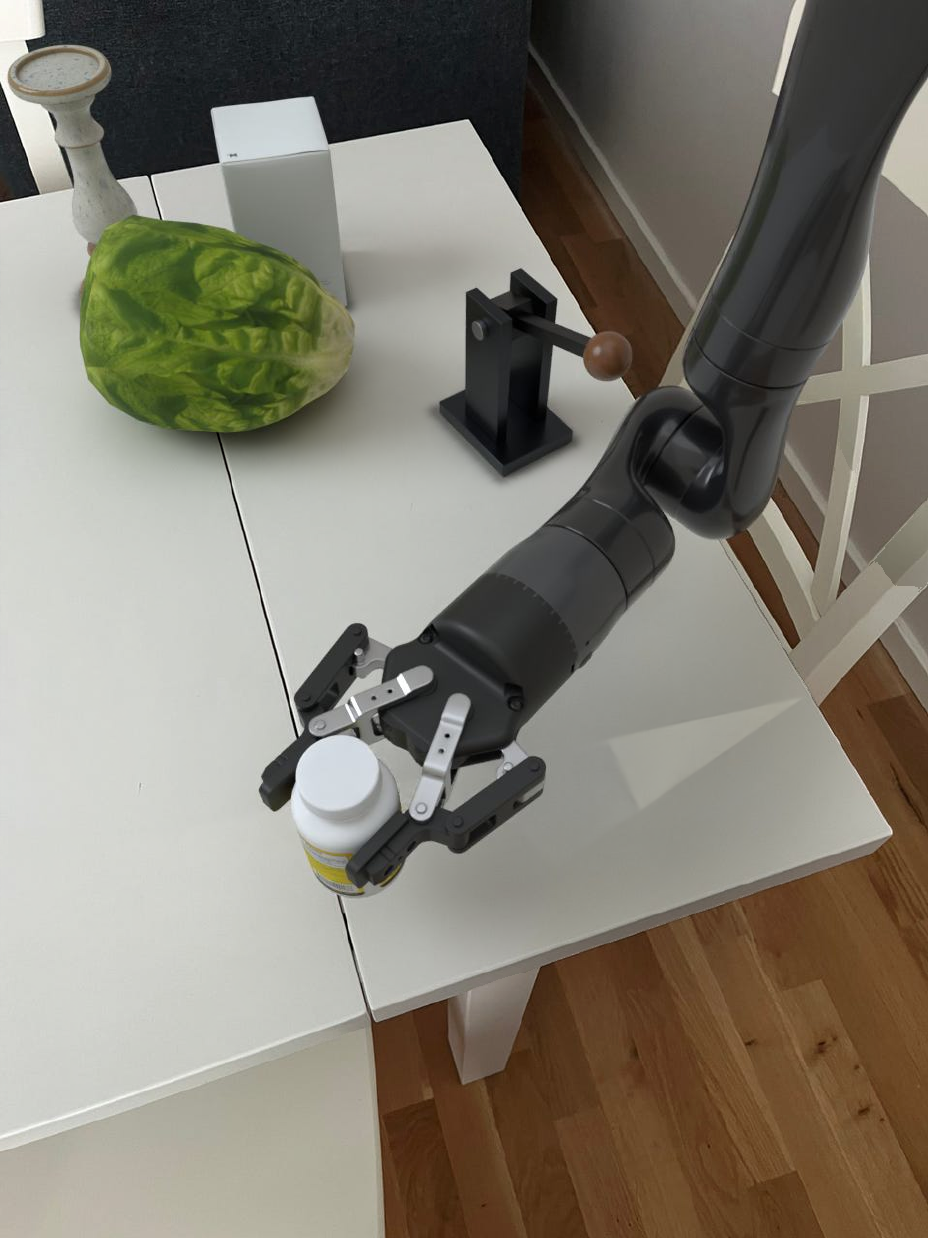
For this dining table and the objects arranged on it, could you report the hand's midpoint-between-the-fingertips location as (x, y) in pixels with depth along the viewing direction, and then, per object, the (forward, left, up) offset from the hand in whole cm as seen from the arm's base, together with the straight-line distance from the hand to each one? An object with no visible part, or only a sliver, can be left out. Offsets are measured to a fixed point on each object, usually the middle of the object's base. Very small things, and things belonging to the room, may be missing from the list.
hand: (309, 838), depth 48 cm
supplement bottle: (-1, -2, -7) cm, 7 cm away
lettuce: (+33, -32, -12) cm, 47 cm away
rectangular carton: (+38, -47, -12) cm, 61 cm away
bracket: (+12, -41, -12) cm, 44 cm away
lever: (+6, -38, -1) cm, 39 cm away
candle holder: (+50, -38, -12) cm, 64 cm away
